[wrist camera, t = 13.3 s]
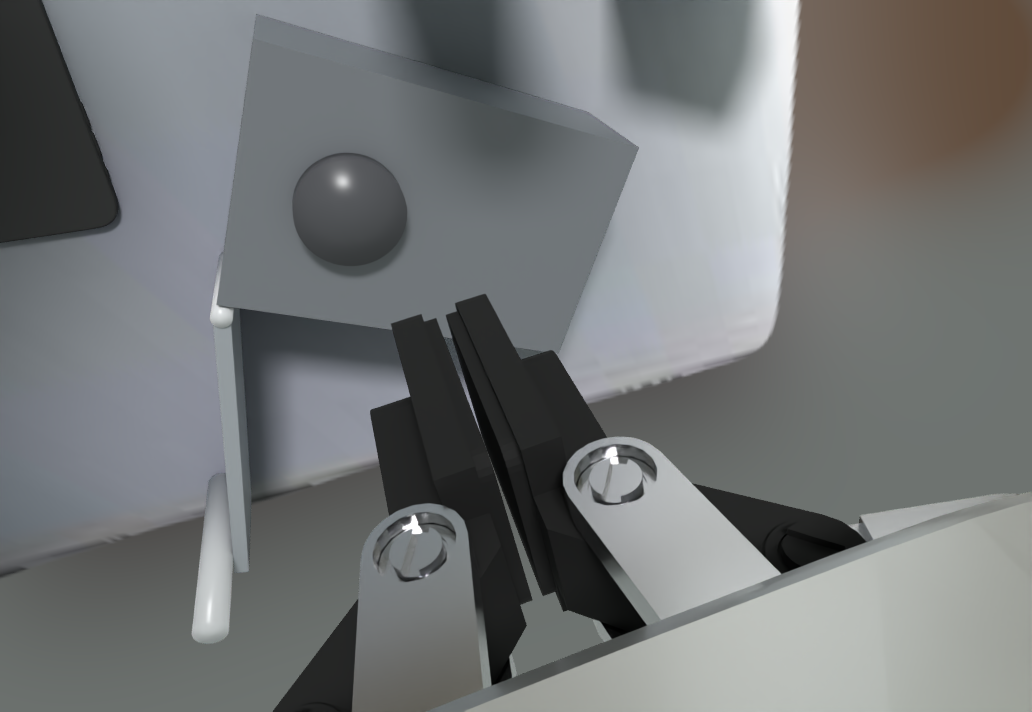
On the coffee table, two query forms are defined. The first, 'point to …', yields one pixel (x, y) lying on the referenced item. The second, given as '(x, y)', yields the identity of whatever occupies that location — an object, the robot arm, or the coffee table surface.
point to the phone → (45, 136)
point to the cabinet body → (411, 191)
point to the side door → (225, 485)
